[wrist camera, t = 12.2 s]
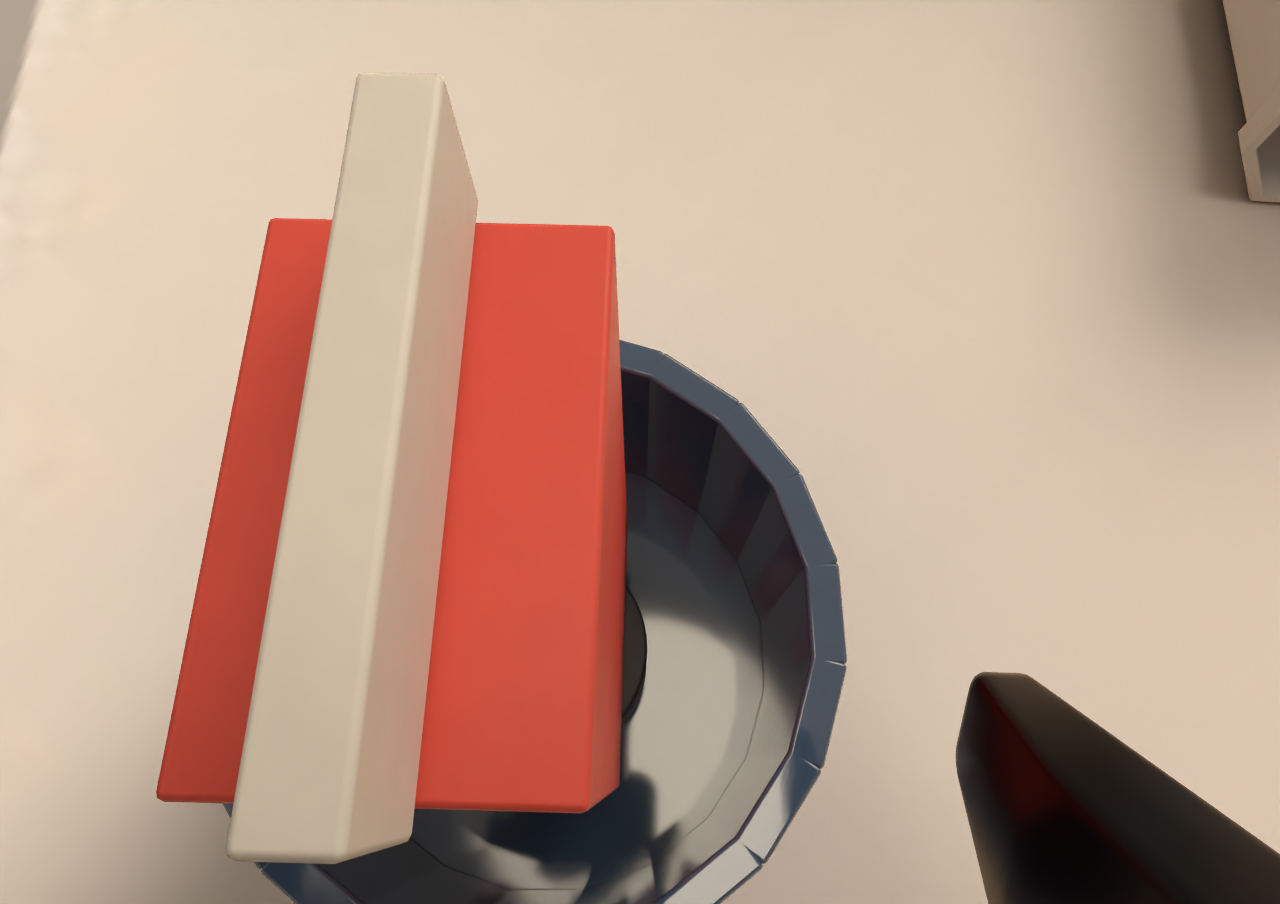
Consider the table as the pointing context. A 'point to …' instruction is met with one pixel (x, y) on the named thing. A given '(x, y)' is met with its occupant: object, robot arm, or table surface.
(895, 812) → the table surface
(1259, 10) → the tube
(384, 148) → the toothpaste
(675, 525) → the holder
